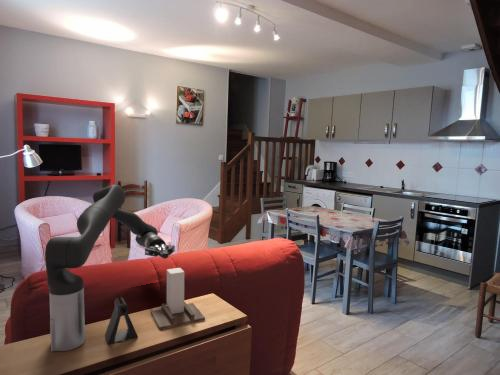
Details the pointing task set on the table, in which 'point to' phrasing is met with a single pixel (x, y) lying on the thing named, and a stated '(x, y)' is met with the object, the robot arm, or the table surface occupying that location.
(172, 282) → the cream block
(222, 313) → the table surface
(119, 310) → the phone stand
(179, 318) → the ridged brown base plate
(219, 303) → the table surface
